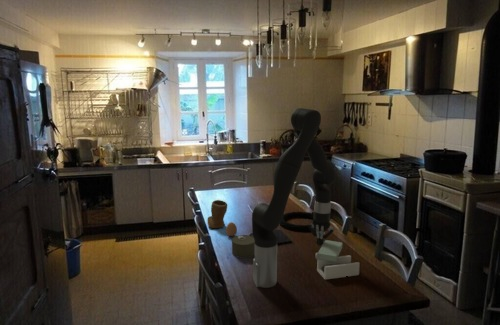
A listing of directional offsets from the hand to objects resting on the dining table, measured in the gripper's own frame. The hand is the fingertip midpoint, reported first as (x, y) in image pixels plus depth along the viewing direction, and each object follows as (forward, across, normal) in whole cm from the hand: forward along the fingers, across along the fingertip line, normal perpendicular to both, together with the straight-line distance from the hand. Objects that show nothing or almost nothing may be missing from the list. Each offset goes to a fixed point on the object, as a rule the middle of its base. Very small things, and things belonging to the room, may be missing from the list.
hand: (320, 245), depth 168 cm
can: (+8, -34, -13) cm, 37 cm away
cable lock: (+7, -25, +41) cm, 48 cm away
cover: (+1, +6, -5) cm, 8 cm away
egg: (+8, -51, +1) cm, 52 cm away
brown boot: (+8, -68, +12) cm, 69 cm away
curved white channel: (+6, +12, -10) cm, 17 cm away
